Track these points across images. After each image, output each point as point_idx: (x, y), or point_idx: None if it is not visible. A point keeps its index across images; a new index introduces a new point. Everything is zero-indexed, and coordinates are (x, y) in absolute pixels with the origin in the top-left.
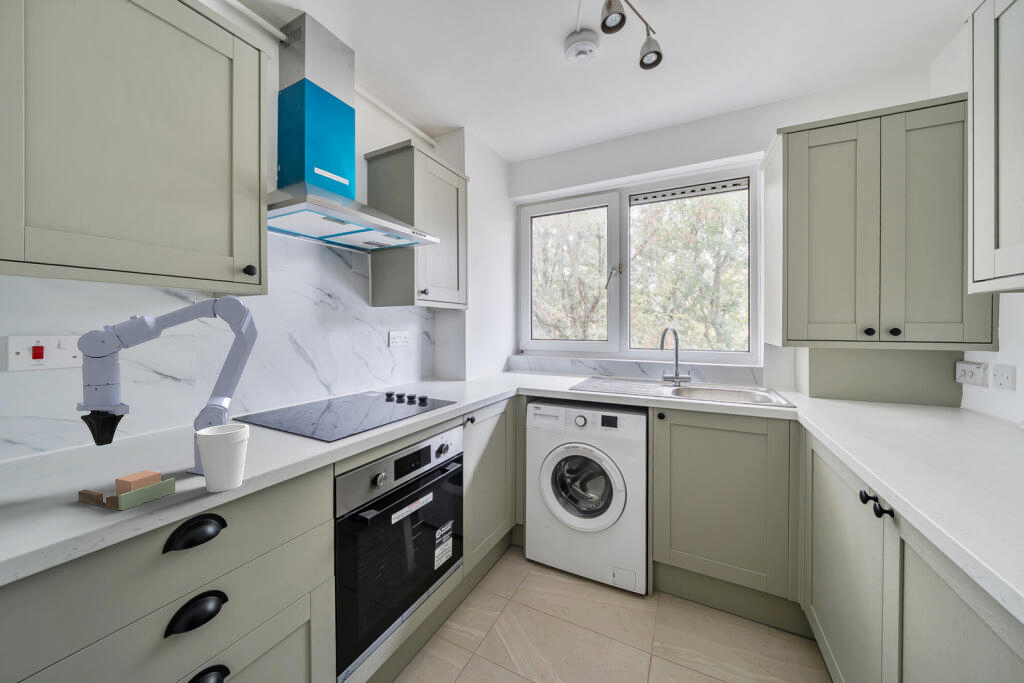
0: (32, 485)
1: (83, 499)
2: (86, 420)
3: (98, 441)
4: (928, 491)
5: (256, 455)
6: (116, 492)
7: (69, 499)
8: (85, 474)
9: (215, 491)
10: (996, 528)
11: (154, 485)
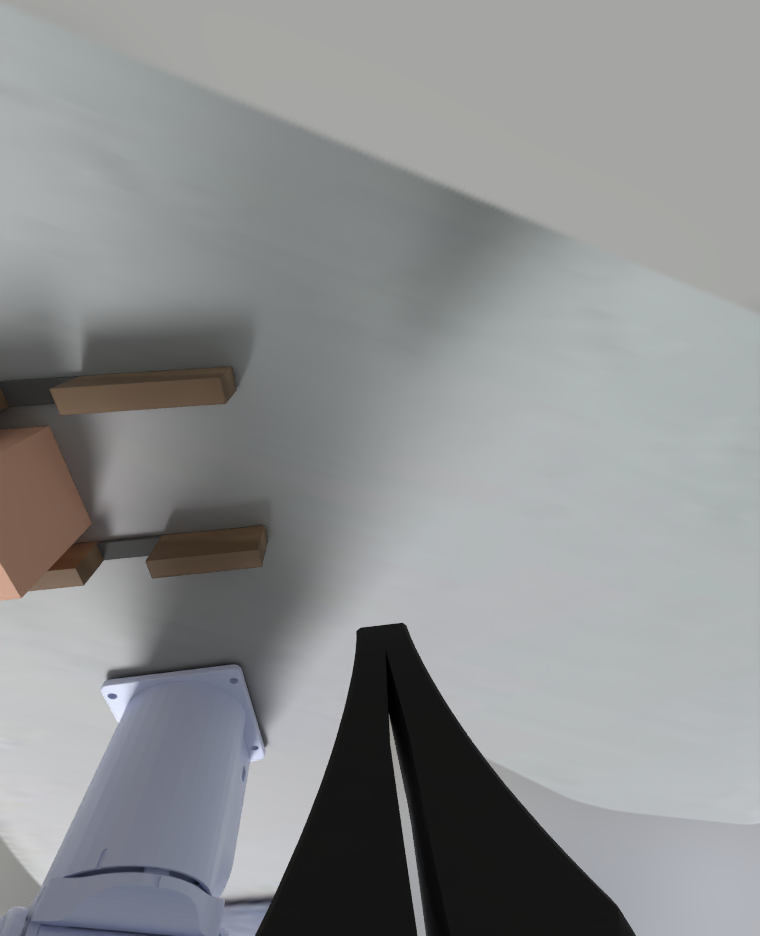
0: (686, 372)
1: (185, 372)
2: (483, 901)
3: (355, 656)
4: None
5: None
6: (7, 445)
7: (304, 360)
8: (605, 511)
9: None
10: None
11: None
